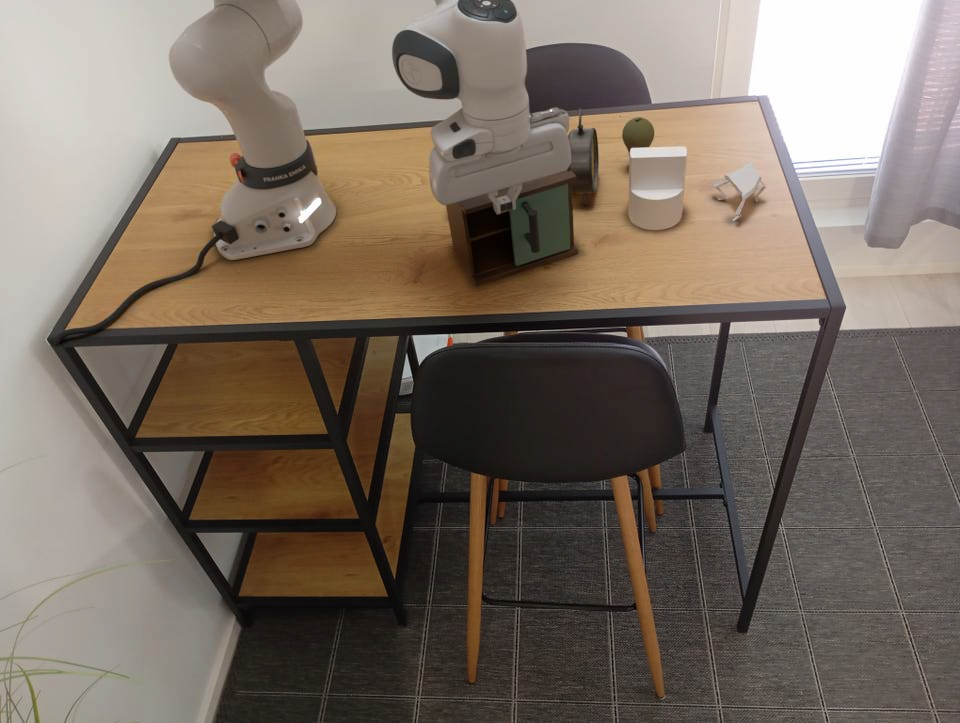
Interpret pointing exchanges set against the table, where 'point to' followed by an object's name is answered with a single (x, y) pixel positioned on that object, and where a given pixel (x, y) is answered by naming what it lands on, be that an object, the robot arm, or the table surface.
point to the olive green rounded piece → (638, 133)
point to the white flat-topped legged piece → (742, 184)
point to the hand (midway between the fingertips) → (504, 209)
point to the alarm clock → (584, 159)
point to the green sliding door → (540, 225)
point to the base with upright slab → (656, 186)
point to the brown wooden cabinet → (499, 232)
